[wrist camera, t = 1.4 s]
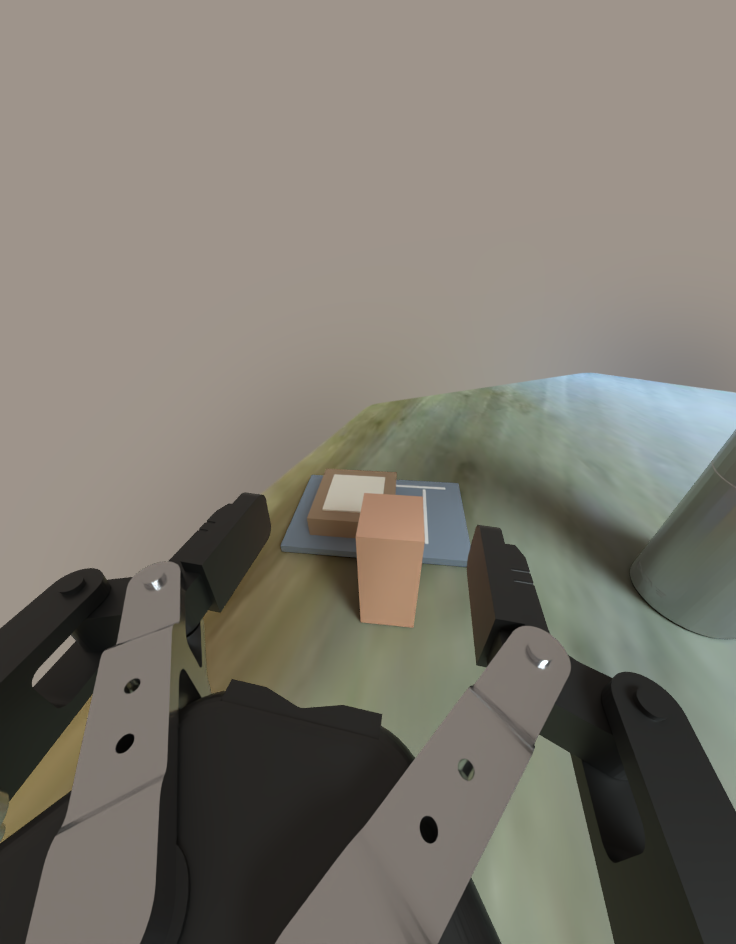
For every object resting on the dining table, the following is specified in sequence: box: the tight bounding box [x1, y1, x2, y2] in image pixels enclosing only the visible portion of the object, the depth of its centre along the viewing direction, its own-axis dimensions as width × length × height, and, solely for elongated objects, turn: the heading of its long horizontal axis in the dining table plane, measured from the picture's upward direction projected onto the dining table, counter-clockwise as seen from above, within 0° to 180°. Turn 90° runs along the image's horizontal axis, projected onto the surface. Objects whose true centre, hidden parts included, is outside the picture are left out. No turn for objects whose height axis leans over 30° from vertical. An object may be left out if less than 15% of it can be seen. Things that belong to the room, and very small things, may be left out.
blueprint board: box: [281, 469, 471, 567], centre depth 40 cm, size 22×14×4 cm, turn 83°
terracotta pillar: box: [356, 493, 425, 628], centre depth 28 cm, size 5×5×12 cm
